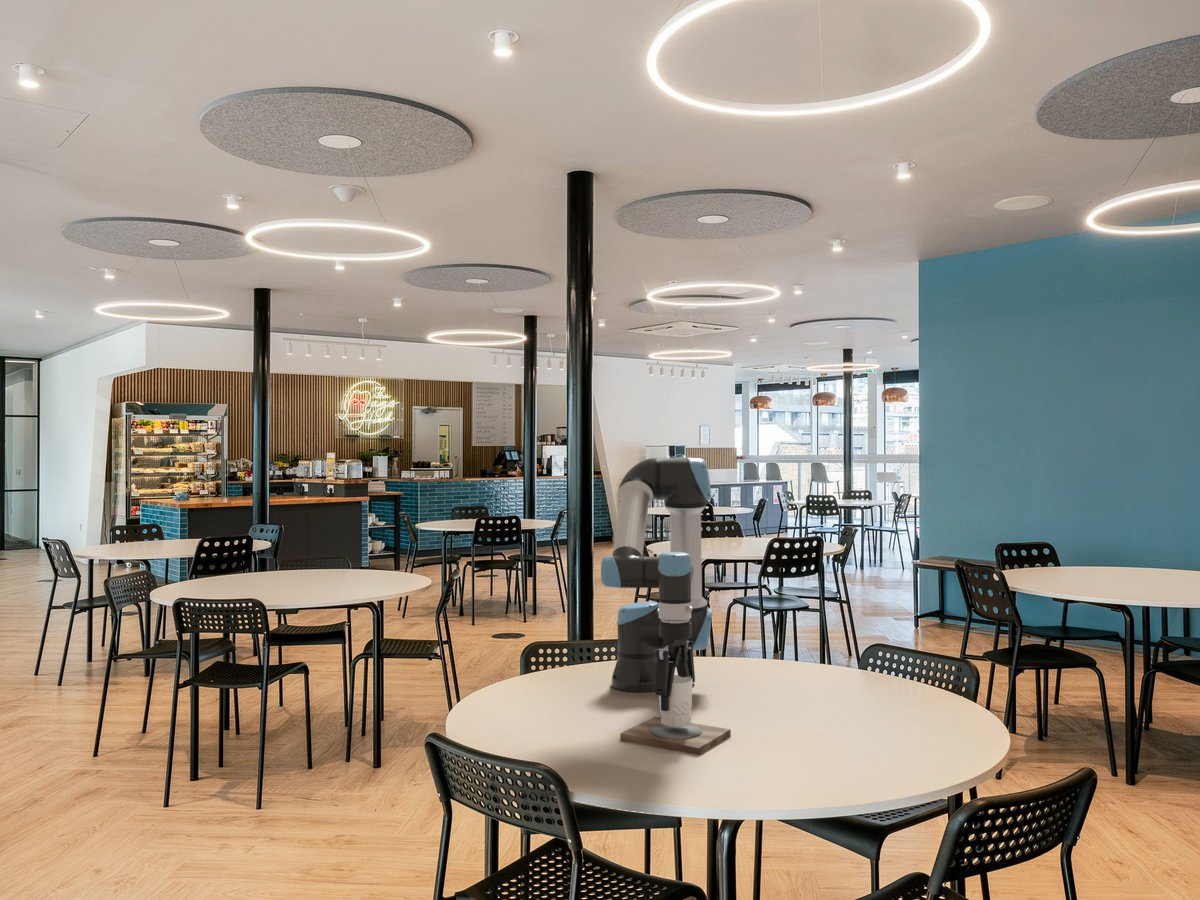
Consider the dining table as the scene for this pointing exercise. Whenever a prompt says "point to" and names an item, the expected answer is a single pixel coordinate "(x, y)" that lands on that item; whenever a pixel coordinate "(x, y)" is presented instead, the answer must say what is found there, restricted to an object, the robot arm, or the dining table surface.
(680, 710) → the white cup
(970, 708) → the dining table surface
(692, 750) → the board
